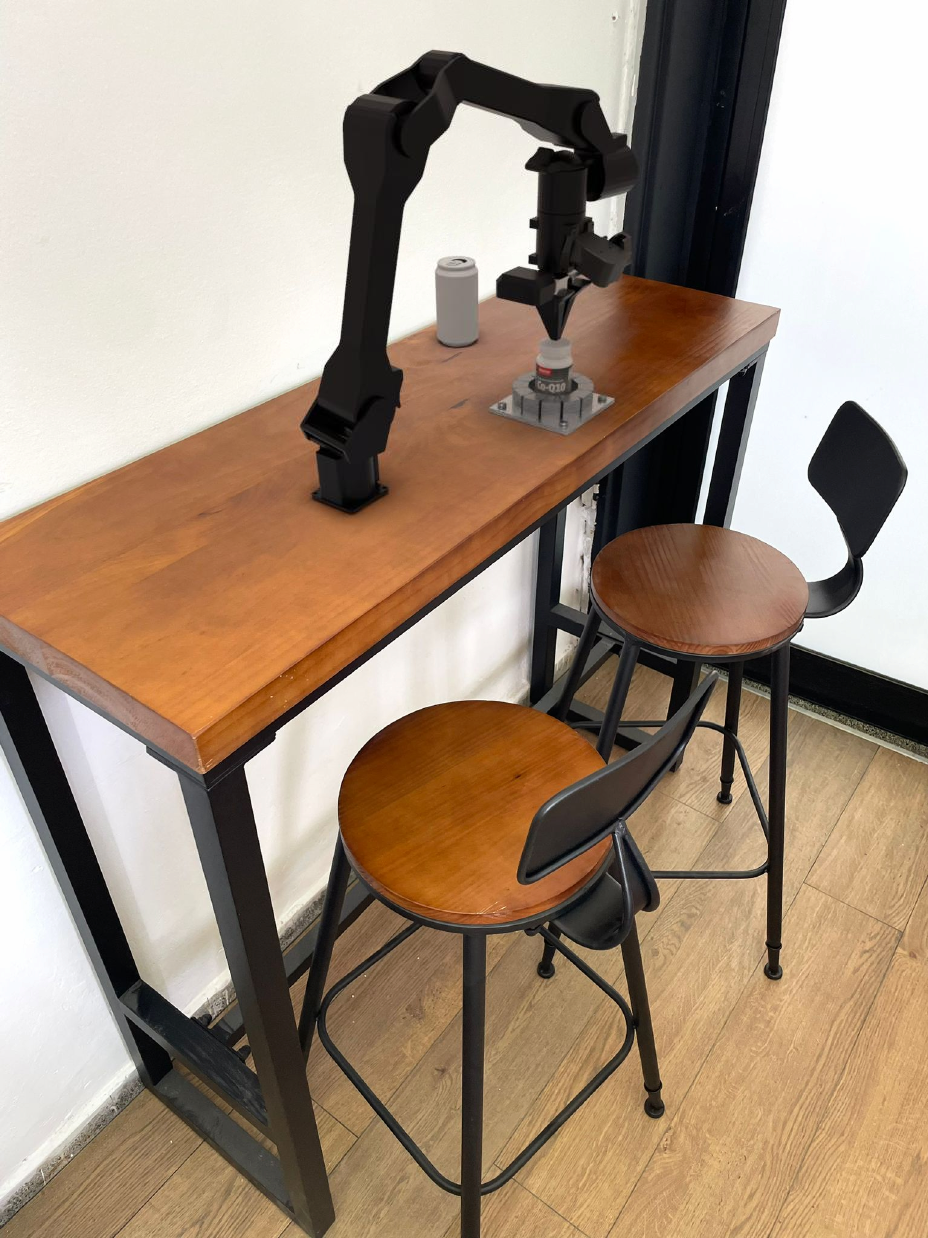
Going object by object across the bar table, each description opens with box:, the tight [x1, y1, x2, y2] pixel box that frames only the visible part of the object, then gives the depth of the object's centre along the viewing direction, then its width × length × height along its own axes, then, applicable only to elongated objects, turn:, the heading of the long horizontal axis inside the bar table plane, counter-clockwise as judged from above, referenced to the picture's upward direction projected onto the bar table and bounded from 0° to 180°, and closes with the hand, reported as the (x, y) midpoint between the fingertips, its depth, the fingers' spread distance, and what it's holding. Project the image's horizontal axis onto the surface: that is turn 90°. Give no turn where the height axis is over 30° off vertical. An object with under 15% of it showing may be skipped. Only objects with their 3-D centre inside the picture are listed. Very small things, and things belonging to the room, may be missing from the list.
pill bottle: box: [535, 336, 574, 396], centre depth 120 cm, size 5×5×8 cm
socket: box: [488, 370, 615, 436], centre depth 122 cm, size 12×12×3 cm
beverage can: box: [434, 255, 480, 348], centre depth 139 cm, size 6×6×12 cm
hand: (555, 339), depth 117 cm, fingers closed
